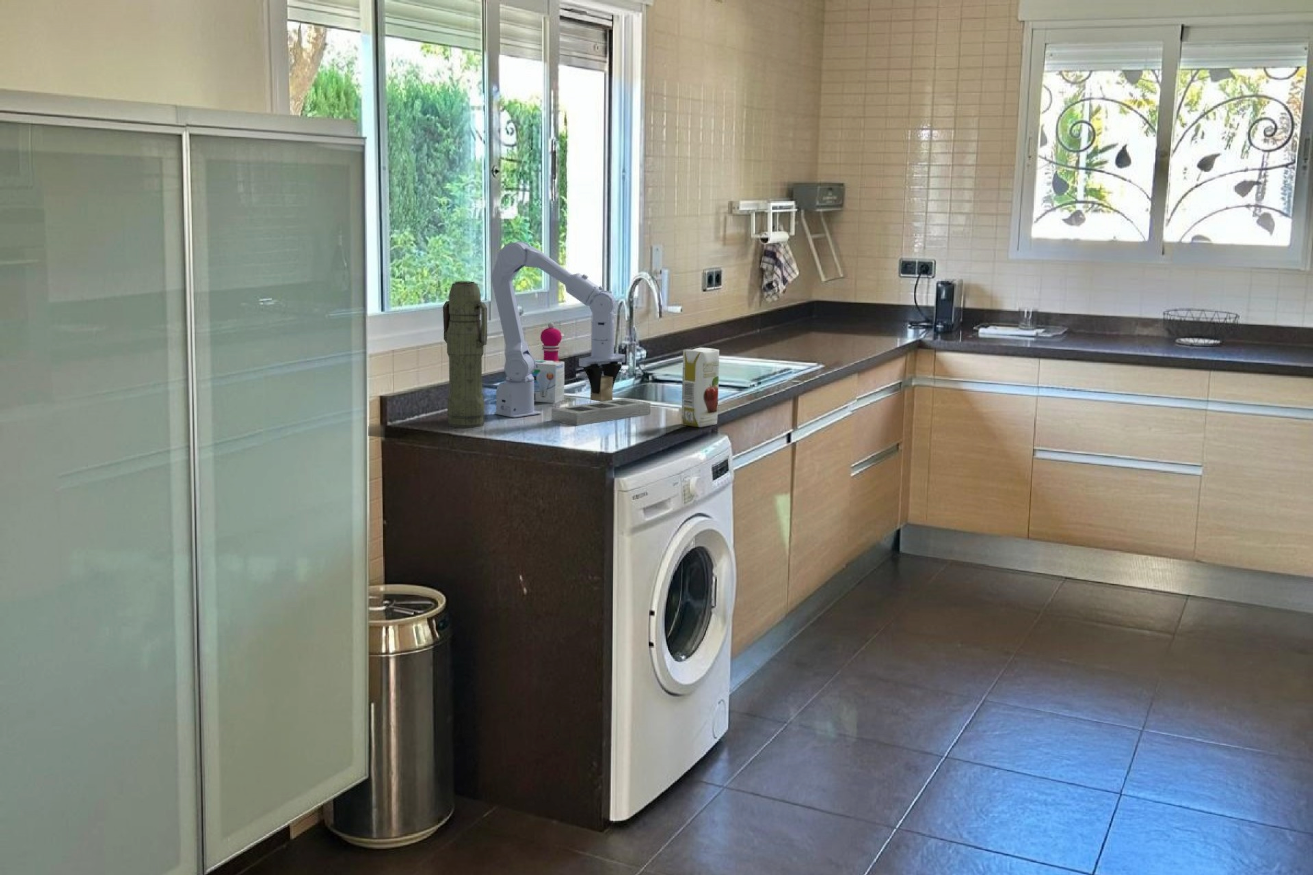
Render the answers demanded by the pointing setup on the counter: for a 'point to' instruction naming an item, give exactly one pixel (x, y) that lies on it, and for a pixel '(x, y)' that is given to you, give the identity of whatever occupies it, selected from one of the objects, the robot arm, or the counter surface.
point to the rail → (600, 411)
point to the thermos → (465, 353)
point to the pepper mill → (551, 343)
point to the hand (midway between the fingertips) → (602, 392)
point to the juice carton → (700, 387)
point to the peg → (604, 390)
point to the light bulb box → (548, 381)
